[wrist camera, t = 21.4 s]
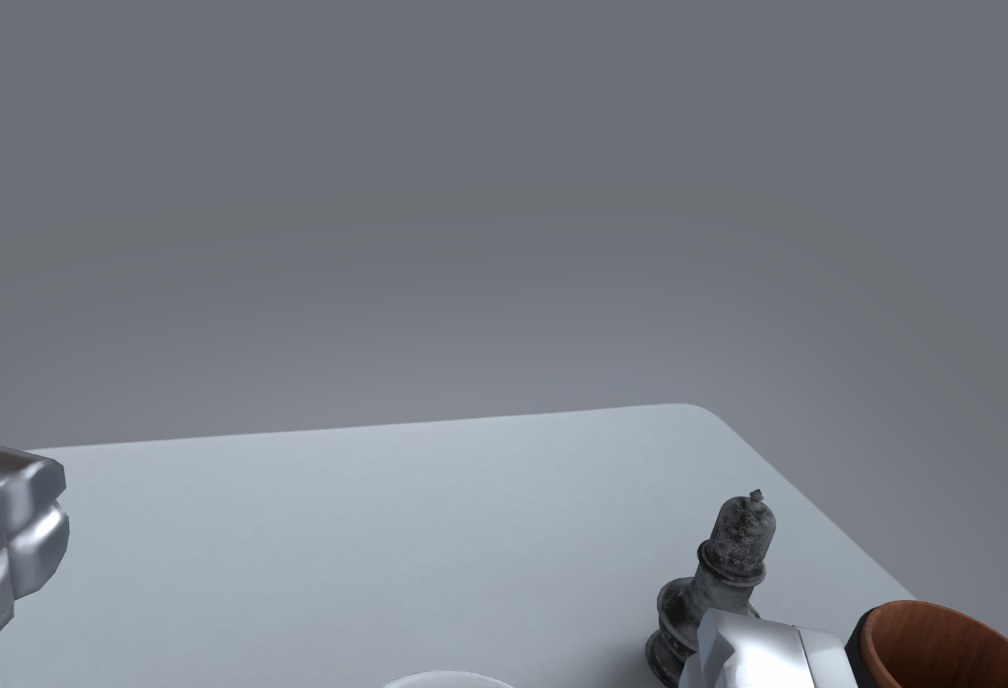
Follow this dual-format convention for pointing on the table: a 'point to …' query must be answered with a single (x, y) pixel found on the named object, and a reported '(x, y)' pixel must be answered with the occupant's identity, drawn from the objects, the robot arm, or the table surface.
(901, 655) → the mug
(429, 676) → the drinking glass
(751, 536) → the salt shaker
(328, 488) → the table surface
